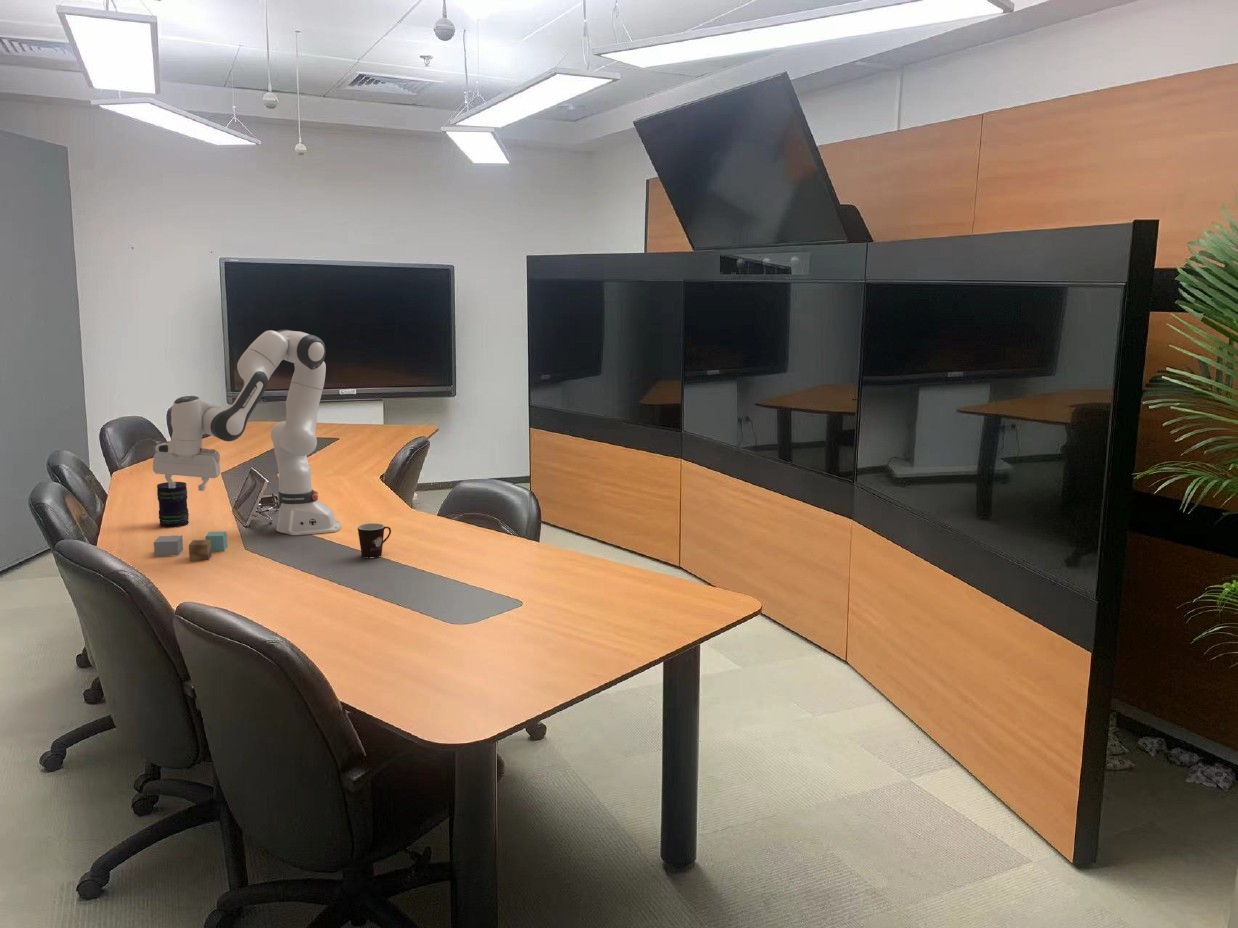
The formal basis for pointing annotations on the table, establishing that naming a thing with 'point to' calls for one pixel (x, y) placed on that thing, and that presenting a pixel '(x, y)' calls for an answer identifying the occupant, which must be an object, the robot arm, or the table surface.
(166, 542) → the grey base block
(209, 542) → the walnut cube
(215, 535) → the teal cube
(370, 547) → the coffee mug
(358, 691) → the table surface
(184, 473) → the robot arm
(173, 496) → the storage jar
